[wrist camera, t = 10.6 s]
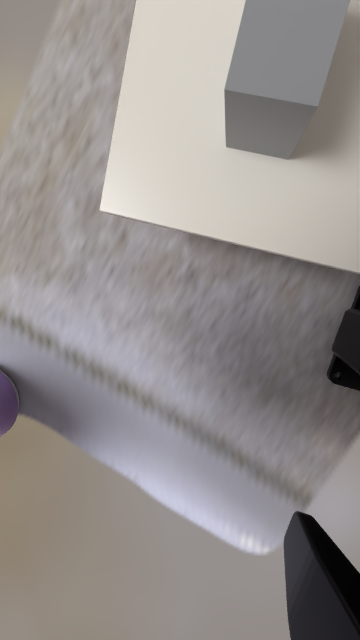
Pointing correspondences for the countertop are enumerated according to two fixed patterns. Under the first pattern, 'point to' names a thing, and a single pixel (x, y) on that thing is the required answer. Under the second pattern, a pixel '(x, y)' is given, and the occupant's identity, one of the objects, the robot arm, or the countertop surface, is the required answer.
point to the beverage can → (7, 403)
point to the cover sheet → (194, 133)
